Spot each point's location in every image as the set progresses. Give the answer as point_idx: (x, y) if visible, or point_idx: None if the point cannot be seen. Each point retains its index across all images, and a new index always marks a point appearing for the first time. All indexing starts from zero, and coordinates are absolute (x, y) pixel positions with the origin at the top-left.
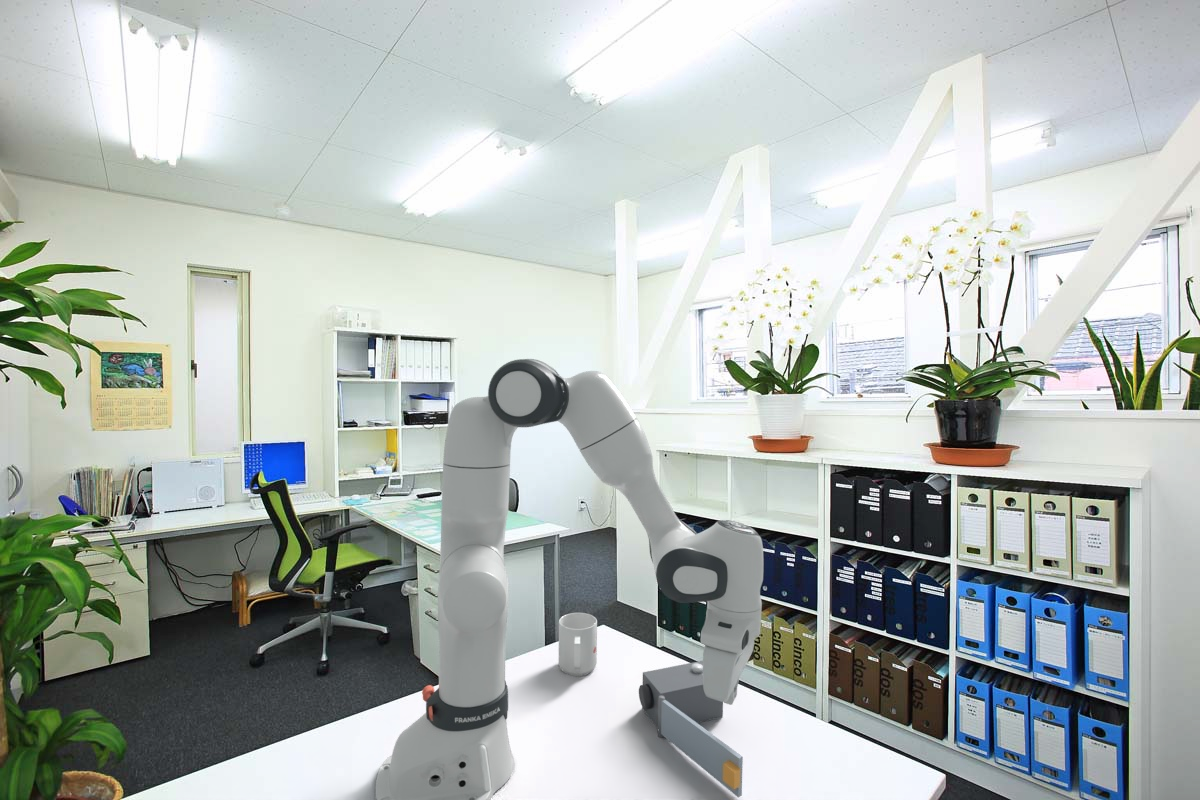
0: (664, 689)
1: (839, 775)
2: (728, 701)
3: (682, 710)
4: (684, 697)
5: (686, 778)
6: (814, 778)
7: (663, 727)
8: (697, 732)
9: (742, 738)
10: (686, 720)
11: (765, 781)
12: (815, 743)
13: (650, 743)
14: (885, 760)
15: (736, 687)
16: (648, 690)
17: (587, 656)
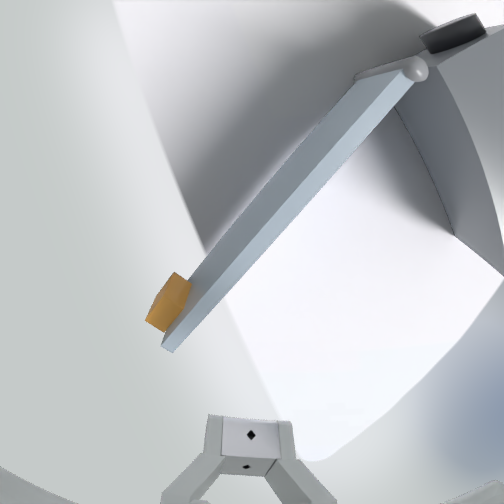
0: (462, 83)
1: (309, 409)
2: (205, 434)
3: (435, 143)
4: (461, 155)
5: (212, 166)
6: (294, 387)
7: (359, 85)
8: (264, 217)
9: (390, 281)
10: (305, 175)
11: (262, 326)
12: (381, 385)
13: (321, 55)
14: (349, 439)
15: (266, 479)
16: (459, 32)
17: None
